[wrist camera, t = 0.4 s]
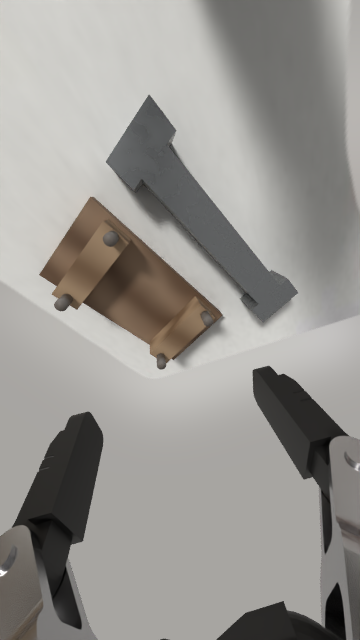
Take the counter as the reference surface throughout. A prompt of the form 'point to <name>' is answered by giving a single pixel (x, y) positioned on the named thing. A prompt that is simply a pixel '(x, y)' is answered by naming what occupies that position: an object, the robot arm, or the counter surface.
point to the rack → (127, 284)
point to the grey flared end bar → (194, 207)
